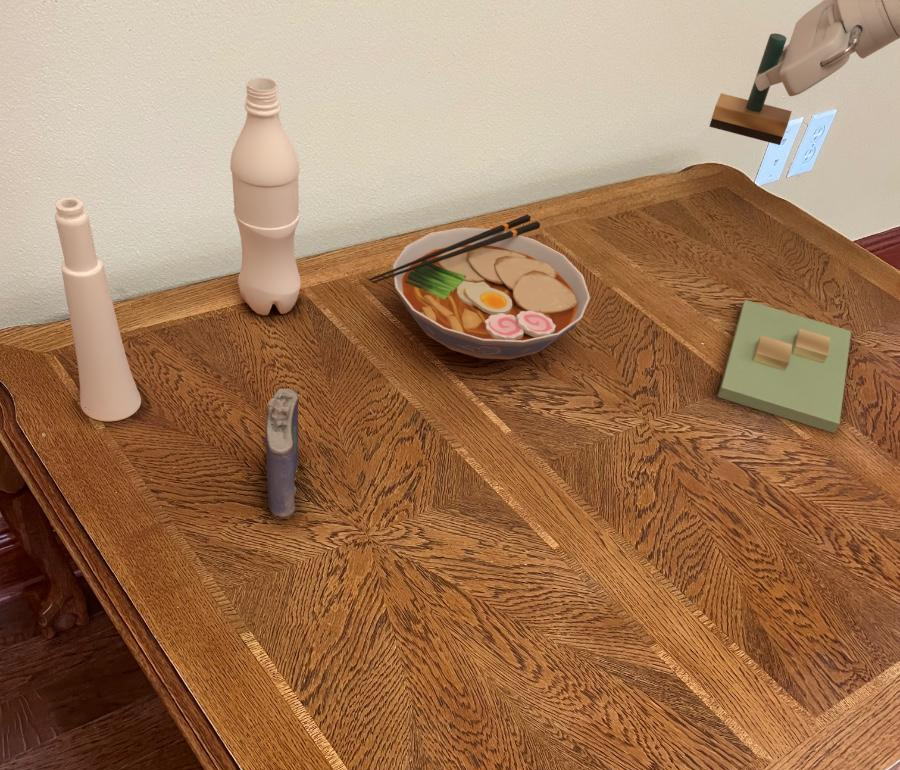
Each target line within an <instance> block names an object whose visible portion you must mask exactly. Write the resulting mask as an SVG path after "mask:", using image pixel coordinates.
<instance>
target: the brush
mask: <svg viewBox="0 0 900 770" xmlns="http://www.w3.org/2000/svg"><path fill="white" fill-rule="evenodd" d="M787 39H788V38H787V37H786V36H785V35H783V34H781V33H770V34H769V36H768V39H767V42H766V45H765V48H764V51H763V55H762V57H761V61H760V64H759V66H758V69H757V73H756V75H755V78H754V81H753V84H752V87H751V90H750V93H749V96H748V99H746V98H743V97H739V96H734V95H729V94H726V93H720V95H719V96H718V99H717V101H716V103H715V107H714V109H713V113H712V116H711V120H710V122H709V128H713V129H717V130H720V131H724V132H728V133H732V134H736V135H739V136H743V137H747V138H751V139H755V140H759V141H762V142H766V143H770V144H774V145H778V146H780V145H782V144H781V143H782V142H783V138H784V136H785V133H786V131H787V127H788V125H789V121H790V118H791V115H792V110H789V109H785V108H781V107H776V106H772V105H770V104H769V105H768V104H765V103H766V100H767V96H768V95H769V91H770V89H771V86H769V87H768V88H766V89H764V90H763V91H759V90H758V89H757V87H756V84H755V79H756V76H757V75H758V74H759V73H761V72H763V71H764V70H766V69H768V70H769V69H771V68H773V67H774V66H776V65H778V62H779V60H780V57H781V54H782V51H783V48H784V47H785V46H786V42H787Z"/></svg>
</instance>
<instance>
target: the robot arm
mask: <svg viewBox="0 0 900 770" xmlns="http://www.w3.org/2000/svg"><path fill="white" fill-rule="evenodd" d="M897 40H900V0H822V1H821V2H819V3H818V4H816V6H814V7H812V8H811V9H810V10H808V11H807V12H806V13H805V14H804V15H802V16H801V17H800V18H799V19H798V20H797V22H796V23H795V25H794V29H793V31H792V34H791V37H790V40H789V43H788V44H787V45H784V48H783V51H782V54H781V57H780V60H779V62H778V65H776V66H774V67H773V68H771V69H769V70H768V69H766V70H764V71H763V72H761V73H759V74H758V75H757V74H756V75H757V76H756V75H755V78H756V79H755V78H754V81H755V84H756V87H757V89H758V90H759V91H763V90H764V89H766V88H768V87H769V86H770V87H772V86H774V85H777V84H780V83H782V85H783V86H784V89H785V91H786V93H787V95H788V96H789V97H795V96H798V95H800V94H802V93H804V92H806V91H807V90H809V89H810V88H812V87H813V86H815V85H817V84H819V83H820V82H822V81H823V80H825V79H826V78H828V77H830V76H831V75H833V74H834V73H836V72H837V71H838V70H840V69H842V68H843V67H844V66H845V65H846V64H847V63H848V61H849V60H850V56H851V55H852V54H854V53H856V55H857V56H858V57H859V59H865V58H867V57H869V56H870V55H872V54H874V53H876V52H878V51H880V50H882V49H883V48H885V47H887V46H888V45H890V44H892V43H893V42H896V41H897Z"/></svg>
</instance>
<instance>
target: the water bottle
mask: <svg viewBox="0 0 900 770" xmlns="http://www.w3.org/2000/svg"><path fill="white" fill-rule="evenodd" d="M245 88H246V98H245V103H244V109H245V111H246V119H245V123H244V125H243V127H242V129H241V131H240V132H239V135H238V137H237V139H236V141H235V144H234V146H233V149H232V151H231V156H230V165H229V166H230V172H231V178H232V179H231V180H232V193H233V194H232V195H233V214H234V216H235V219H236V223H237V227H238V230H239V237H240V242H241V266H240V271H239V274H238V277H237V283H238V290H239V292H240V296H241V297H242V299H243V301H244V302H245V303H246V304H247V305H248V306H249V307H250V309H251V310H252V311H254V312H255V313H256V314H258V315H261V316H268V315H269V314H270V312H271V309H272V307H273V305H274V306H275V307H276V309H277V311H278V312H279V313H280V315H284V314H288V313H289V312H290V311H292V309H293V308H294V306H295V305H296V303H297V300H298V297H299V294H300V290H301V284H302V281H301V280H302V279H301V275H300V272H299V268H298V265H297V260H296V255H295V254H296V253H295V252H296V251H295V235H296V234H295V233H296V229H297V226H298V224H299V222H300V217H301V213H300V208H299V206H300V204H299V199H300V198H299V175H300V164H299V159H298V155H297V152H296V151H295V148H294V146H293V144H292V142H291V140H290V138H289V137H288V135H287V133H286V131H285V129H284V127H283V125H282V122H281V119H280V112H281V104H280V100H279V98H278V97H279V95H278V93H279V92H278V83H277V82H276V81H275V80H274V79H271V78H268V77H264V76H263V77H262V76H261V77H260V76H256V77H252V78H249V79H248V80H247V81H246V87H245Z"/></svg>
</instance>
